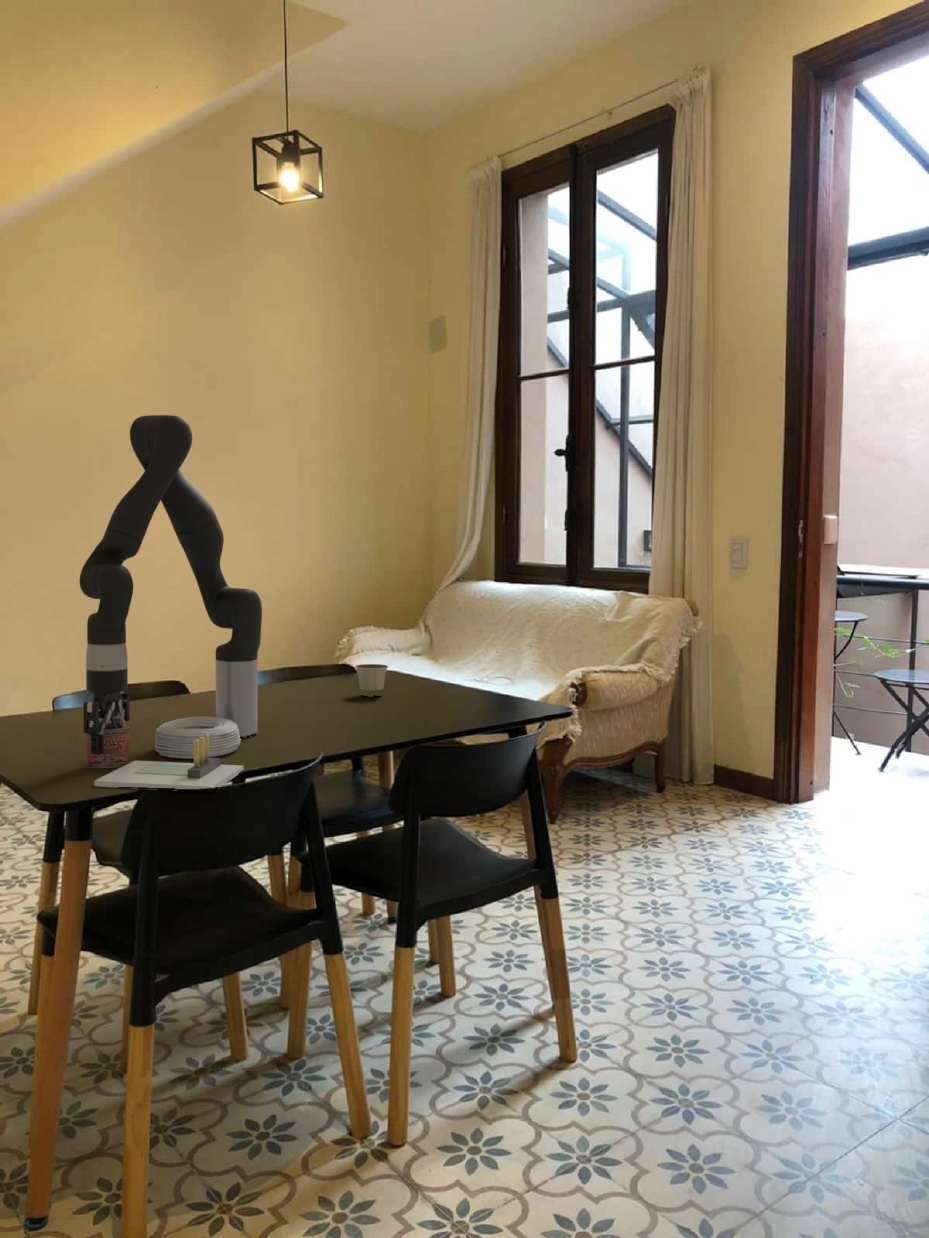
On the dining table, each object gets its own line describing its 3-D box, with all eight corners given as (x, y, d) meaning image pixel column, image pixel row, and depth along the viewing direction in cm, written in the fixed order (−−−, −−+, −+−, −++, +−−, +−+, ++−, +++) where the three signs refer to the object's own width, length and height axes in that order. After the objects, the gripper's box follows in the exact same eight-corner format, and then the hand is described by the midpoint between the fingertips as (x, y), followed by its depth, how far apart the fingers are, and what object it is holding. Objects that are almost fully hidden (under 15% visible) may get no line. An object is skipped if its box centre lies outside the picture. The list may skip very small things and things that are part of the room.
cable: (215, 739, 216) (215, 712, 216) (257, 753, 203) (257, 724, 203) (140, 750, 204) (140, 722, 204) (179, 765, 192) (179, 735, 191)
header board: (135, 765, 190) (134, 727, 189) (243, 770, 187) (243, 732, 187) (94, 786, 174) (93, 745, 173) (212, 792, 171) (212, 750, 171)
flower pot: (354, 693, 280) (355, 663, 280) (387, 693, 281) (387, 663, 281) (354, 698, 271) (355, 668, 270) (388, 698, 272) (388, 668, 271)
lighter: (130, 762, 192) (129, 712, 191) (130, 766, 189) (129, 715, 188) (86, 764, 190) (85, 714, 189) (85, 768, 186) (84, 717, 186)
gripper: (107, 672, 180) (108, 758, 181) (141, 662, 194) (142, 743, 196) (69, 670, 181) (70, 756, 182) (106, 661, 195) (107, 741, 196)
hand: (107, 749), depth 189 cm, fingers open, 7 cm apart
